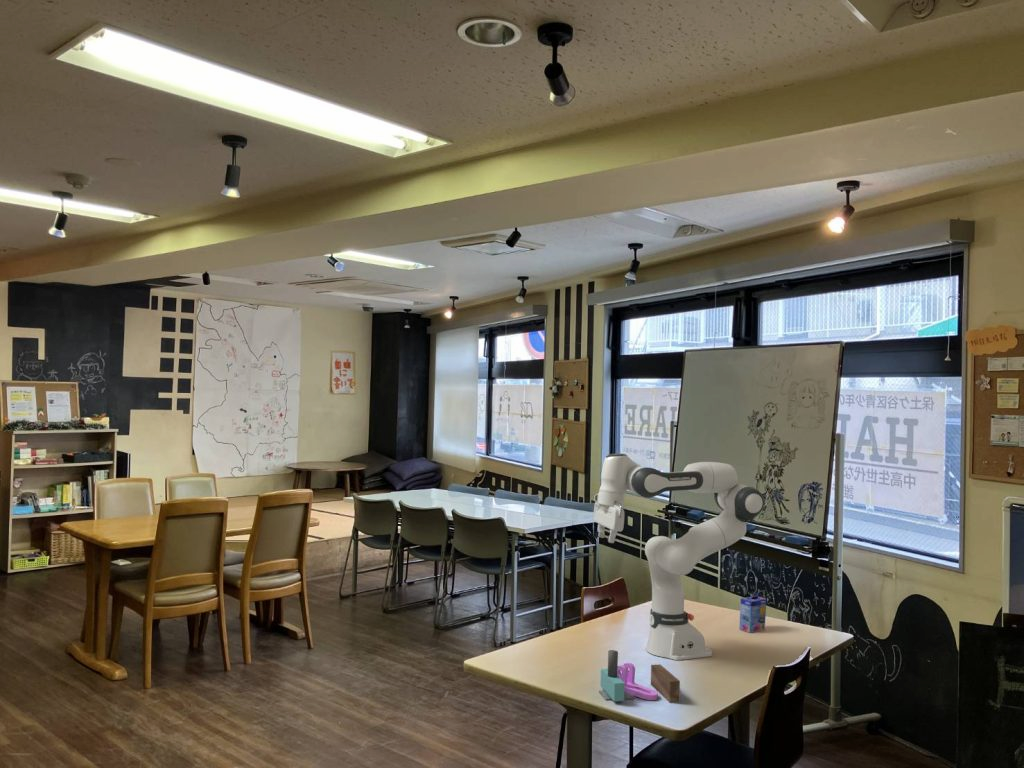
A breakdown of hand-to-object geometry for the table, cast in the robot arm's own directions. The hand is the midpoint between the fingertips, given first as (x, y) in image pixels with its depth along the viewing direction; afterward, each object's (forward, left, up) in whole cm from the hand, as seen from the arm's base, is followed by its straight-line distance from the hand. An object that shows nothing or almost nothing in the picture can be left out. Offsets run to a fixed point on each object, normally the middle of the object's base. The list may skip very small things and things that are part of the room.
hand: (606, 540), depth 257 cm
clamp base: (+3, +36, -39) cm, 53 cm away
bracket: (+2, +35, -39) cm, 52 cm away
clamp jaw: (+10, +36, -39) cm, 54 cm away
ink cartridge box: (-68, -21, -39) cm, 82 cm away
